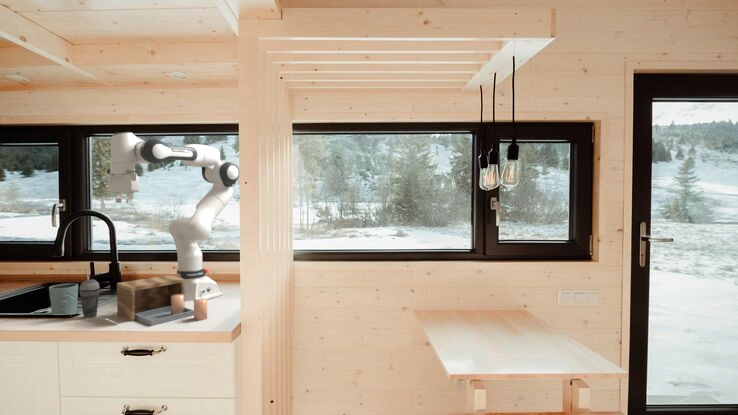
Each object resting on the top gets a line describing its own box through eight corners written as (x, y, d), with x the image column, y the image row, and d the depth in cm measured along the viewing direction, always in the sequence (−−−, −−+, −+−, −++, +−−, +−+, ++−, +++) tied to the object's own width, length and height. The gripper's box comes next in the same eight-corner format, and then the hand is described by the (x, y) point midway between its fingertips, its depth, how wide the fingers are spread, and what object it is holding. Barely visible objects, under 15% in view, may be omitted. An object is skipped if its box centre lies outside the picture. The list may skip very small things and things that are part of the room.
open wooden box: (169, 305, 194) (168, 275, 194) (184, 310, 187) (184, 278, 186) (117, 316, 177) (116, 283, 176) (131, 322, 169) (131, 287, 168)
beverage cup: (90, 320, 172) (89, 270, 171) (74, 318, 173) (74, 269, 173) (104, 314, 179) (104, 267, 178) (90, 313, 181) (89, 266, 180)
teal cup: (64, 318, 174) (63, 289, 174) (43, 316, 176) (42, 287, 175) (84, 311, 184) (84, 283, 184) (64, 309, 186) (63, 282, 185)
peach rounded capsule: (202, 317, 177) (202, 298, 177) (209, 319, 174) (209, 300, 174) (191, 320, 173) (191, 300, 173) (198, 322, 170) (198, 302, 170)
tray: (176, 310, 187) (176, 304, 187) (195, 316, 178) (195, 310, 178) (133, 320, 173) (133, 313, 172) (151, 327, 164) (151, 320, 163)
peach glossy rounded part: (180, 312, 182) (180, 293, 182) (186, 314, 179) (186, 295, 179) (168, 314, 178) (168, 295, 178) (175, 317, 175) (174, 297, 175)
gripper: (143, 170, 177) (143, 203, 177) (119, 171, 189) (120, 202, 189) (127, 169, 172) (128, 203, 172) (104, 170, 183) (105, 202, 184)
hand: (123, 203), depth 181 cm, fingers open, 8 cm apart
